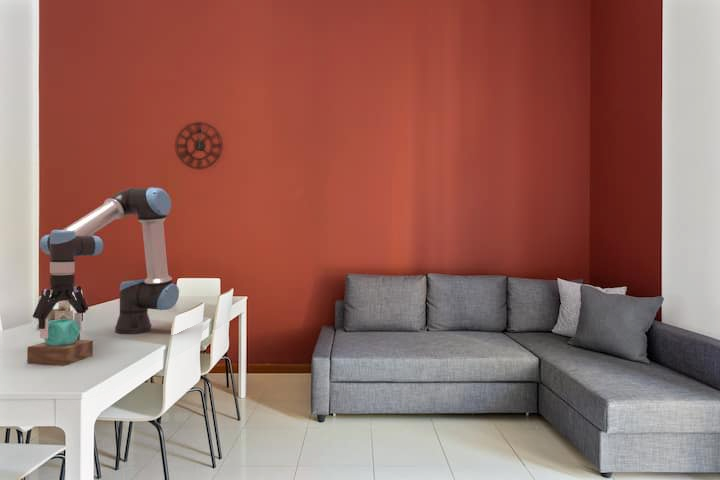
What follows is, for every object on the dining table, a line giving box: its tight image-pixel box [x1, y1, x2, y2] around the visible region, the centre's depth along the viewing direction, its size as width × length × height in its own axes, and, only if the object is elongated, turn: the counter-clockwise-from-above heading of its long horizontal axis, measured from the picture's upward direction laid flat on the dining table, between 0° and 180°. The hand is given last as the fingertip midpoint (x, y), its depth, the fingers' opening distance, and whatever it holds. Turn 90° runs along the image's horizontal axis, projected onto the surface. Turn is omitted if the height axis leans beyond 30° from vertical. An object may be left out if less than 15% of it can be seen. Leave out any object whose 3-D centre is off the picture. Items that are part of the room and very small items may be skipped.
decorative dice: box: [43, 319, 80, 346], centre depth 179 cm, size 8×8×8 cm
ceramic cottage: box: [36, 300, 74, 331], centre depth 233 cm, size 16×16×15 cm
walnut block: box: [26, 339, 94, 367], centre depth 179 cm, size 14×14×6 cm
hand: (61, 334), depth 179 cm, fingers open, 13 cm apart
